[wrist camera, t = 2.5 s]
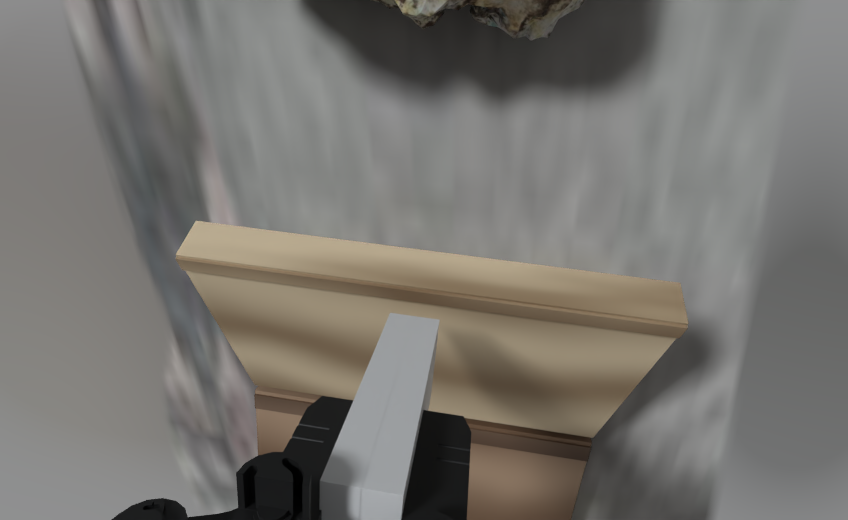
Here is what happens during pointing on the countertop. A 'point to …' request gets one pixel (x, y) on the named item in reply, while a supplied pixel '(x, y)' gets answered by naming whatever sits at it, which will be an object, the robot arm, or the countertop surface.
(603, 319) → the board
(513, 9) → the mineral specimen
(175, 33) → the countertop surface
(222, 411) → the countertop surface
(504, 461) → the floor board
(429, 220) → the countertop surface
